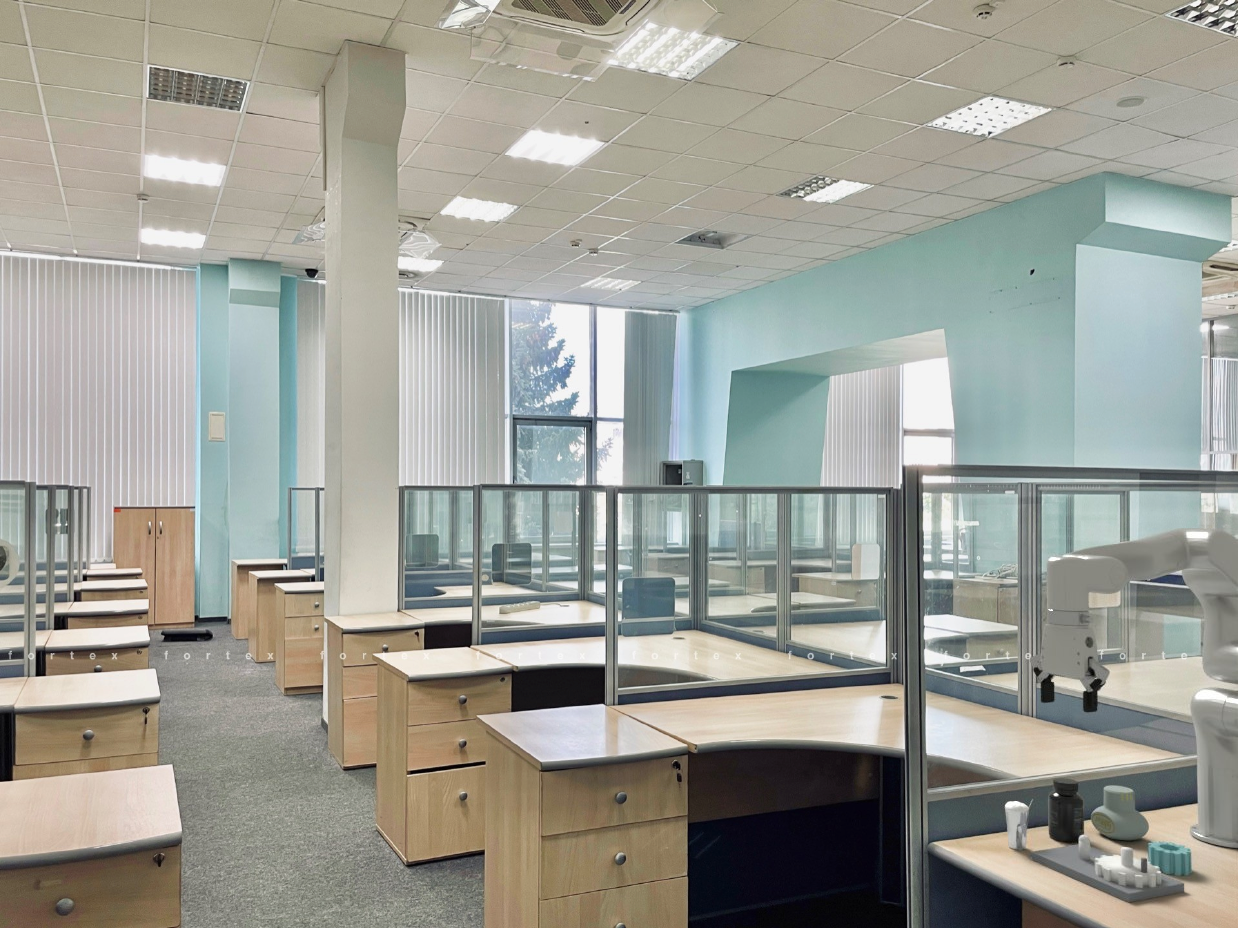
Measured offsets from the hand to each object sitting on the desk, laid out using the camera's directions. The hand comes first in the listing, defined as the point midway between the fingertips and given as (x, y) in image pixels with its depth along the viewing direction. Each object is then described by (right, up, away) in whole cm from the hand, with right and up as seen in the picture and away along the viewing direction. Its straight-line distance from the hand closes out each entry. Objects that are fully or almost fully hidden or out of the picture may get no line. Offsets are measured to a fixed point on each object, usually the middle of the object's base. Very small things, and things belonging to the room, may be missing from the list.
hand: (1068, 706), depth 184 cm
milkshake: (-6, -31, +8) cm, 33 cm away
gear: (+19, -31, -2) cm, 36 cm away
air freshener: (+19, -32, +16) cm, 40 cm away
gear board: (+4, -30, -6) cm, 31 cm away
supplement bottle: (+6, -32, +14) cm, 35 cm away
